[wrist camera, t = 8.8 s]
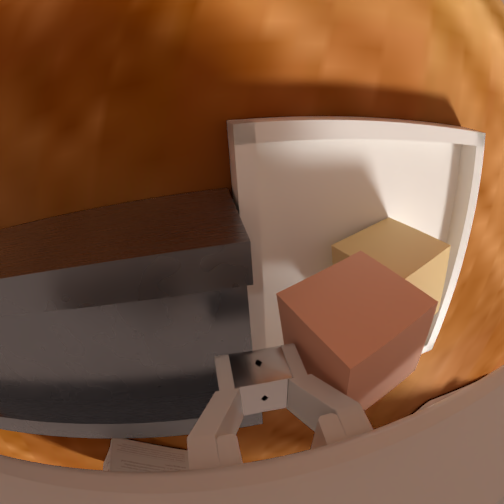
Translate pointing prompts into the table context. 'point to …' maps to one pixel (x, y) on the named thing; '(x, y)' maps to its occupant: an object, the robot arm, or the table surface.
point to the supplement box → (143, 457)
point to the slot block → (122, 316)
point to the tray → (345, 196)
